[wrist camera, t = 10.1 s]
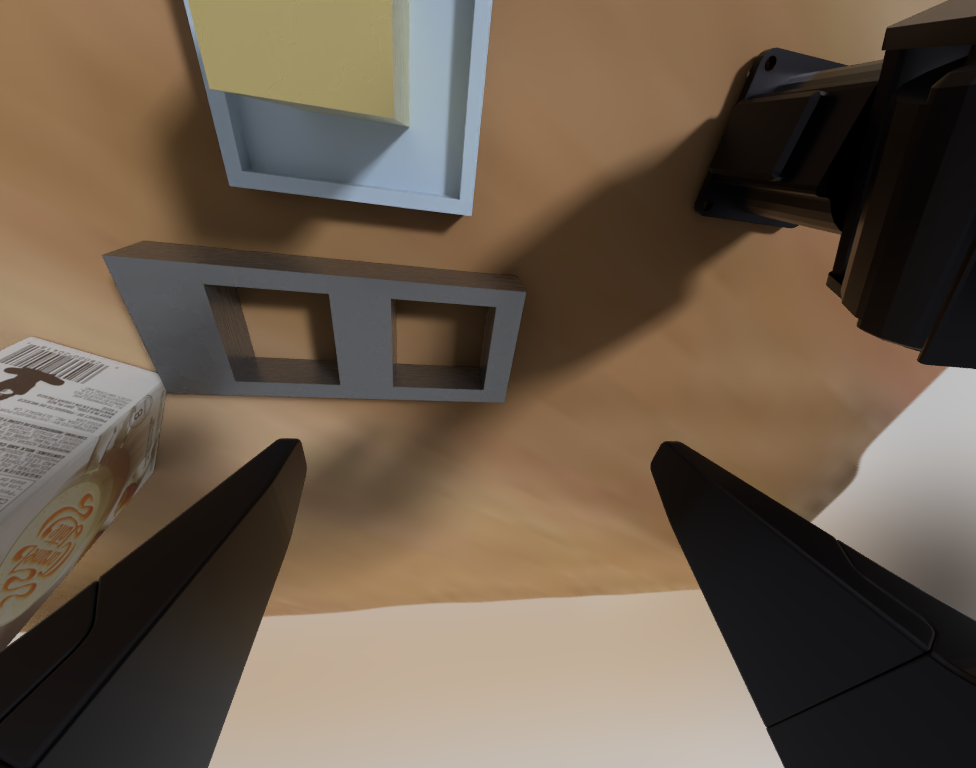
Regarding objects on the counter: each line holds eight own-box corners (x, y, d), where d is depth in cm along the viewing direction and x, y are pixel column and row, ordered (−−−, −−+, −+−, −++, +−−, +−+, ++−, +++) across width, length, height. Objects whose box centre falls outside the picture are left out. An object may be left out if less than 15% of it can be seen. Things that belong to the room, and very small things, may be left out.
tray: (499, -117, 12) (506, -146, 10) (468, 210, 17) (471, 216, 16) (155, -220, 10) (116, -270, 9) (245, 182, 15) (229, 185, 14)
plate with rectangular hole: (516, 276, 19) (526, 292, 17) (498, 379, 23) (504, 402, 21) (143, 240, 16) (101, 255, 14) (194, 367, 20) (167, 393, 18)
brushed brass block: (409, 127, 15) (393, 118, 9) (301, 110, 14) (209, 89, 8) (409, -20, 12) (388, -159, 7) (279, -51, 11) (129, -237, 6)
